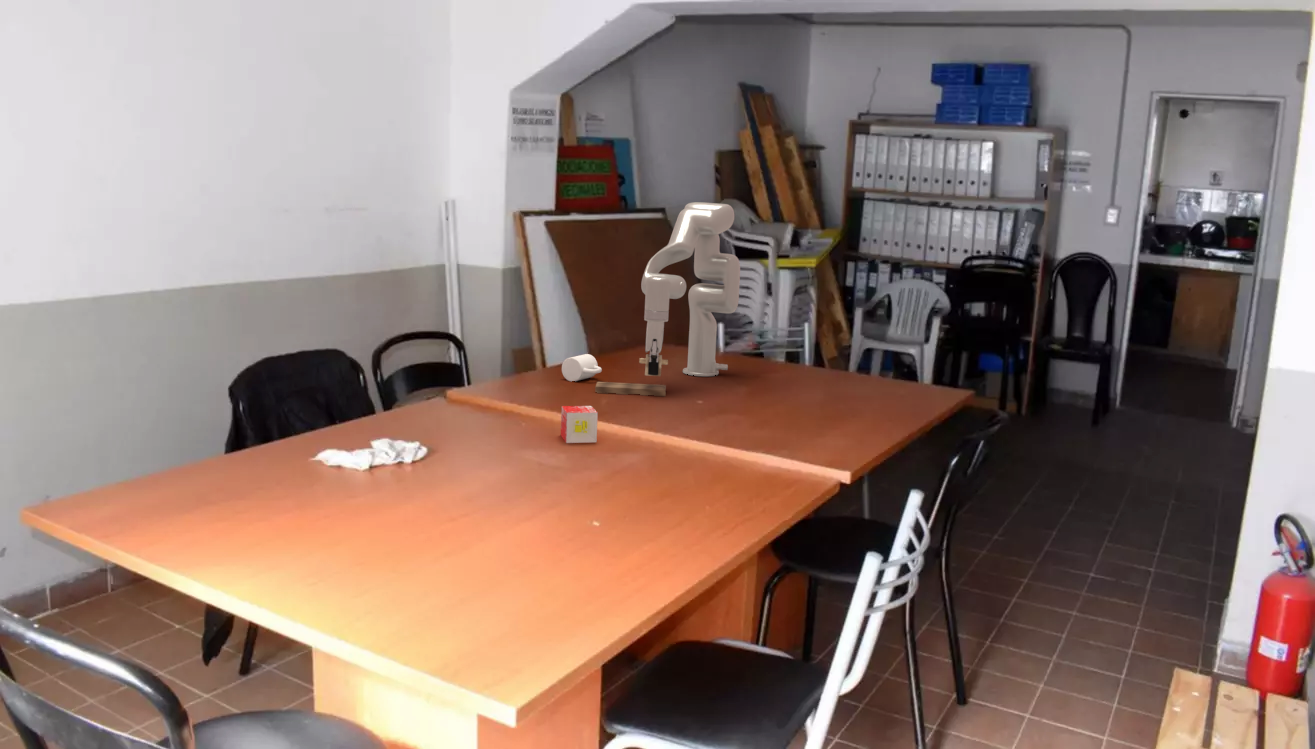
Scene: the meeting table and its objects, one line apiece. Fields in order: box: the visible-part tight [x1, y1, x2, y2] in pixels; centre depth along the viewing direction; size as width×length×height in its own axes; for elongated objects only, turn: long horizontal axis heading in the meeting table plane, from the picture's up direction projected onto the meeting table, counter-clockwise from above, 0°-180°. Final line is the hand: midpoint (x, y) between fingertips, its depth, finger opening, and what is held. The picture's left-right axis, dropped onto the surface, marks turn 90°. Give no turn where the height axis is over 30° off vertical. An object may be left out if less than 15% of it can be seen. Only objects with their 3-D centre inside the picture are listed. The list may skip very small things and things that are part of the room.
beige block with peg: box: [638, 353, 669, 377], centre depth 341 cm, size 9×4×7 cm, turn 89°
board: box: [594, 381, 667, 397], centre depth 343 cm, size 22×8×2 cm, turn 89°
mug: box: [561, 353, 603, 382], centre depth 358 cm, size 12×10×8 cm
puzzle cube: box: [560, 405, 599, 444], centre depth 280 cm, size 8×8×8 cm
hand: (653, 372), depth 341 cm, fingers closed on beige block with peg, 4 cm apart
